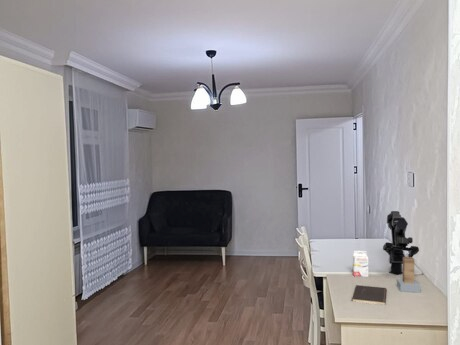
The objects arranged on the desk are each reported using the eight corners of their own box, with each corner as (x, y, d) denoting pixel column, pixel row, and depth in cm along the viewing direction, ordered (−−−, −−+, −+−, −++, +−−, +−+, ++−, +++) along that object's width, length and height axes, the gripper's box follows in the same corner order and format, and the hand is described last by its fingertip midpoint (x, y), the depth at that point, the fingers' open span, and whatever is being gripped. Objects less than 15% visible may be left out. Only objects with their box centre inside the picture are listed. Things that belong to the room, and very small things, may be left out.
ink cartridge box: (354, 276, 276) (354, 252, 275) (352, 274, 281) (352, 250, 280) (368, 276, 275) (368, 252, 274) (367, 274, 280) (367, 250, 279)
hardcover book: (352, 302, 232) (352, 298, 231) (356, 289, 253) (356, 285, 253) (385, 306, 226) (385, 301, 226) (386, 292, 248) (386, 287, 247)
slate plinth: (396, 286, 256) (396, 279, 256) (415, 286, 254) (415, 279, 254) (400, 291, 246) (400, 284, 246) (420, 292, 245) (420, 285, 244)
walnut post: (402, 280, 253) (402, 257, 252) (412, 280, 252) (412, 257, 252) (404, 283, 248) (404, 259, 247) (414, 283, 247) (414, 259, 247)
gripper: (388, 228, 260) (389, 254, 252) (421, 233, 260) (424, 259, 251) (382, 237, 270) (383, 262, 261) (414, 241, 269) (416, 266, 261)
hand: (401, 262), depth 258 cm, fingers open, 9 cm apart
